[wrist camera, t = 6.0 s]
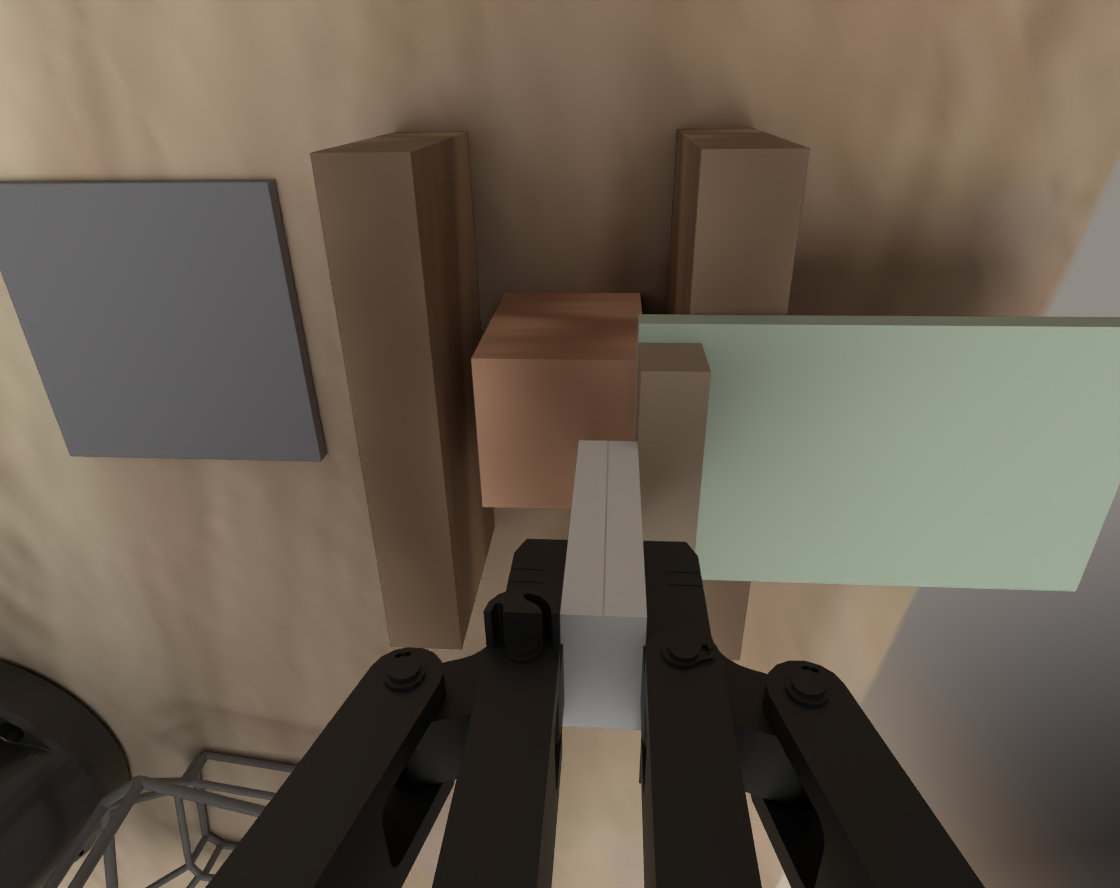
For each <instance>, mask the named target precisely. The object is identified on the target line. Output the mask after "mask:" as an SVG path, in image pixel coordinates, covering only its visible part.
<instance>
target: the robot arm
mask: <svg viewBox="0 0 1120 888" xmlns="http://www.w3.org/2000/svg"><path fill="white" fill-rule="evenodd" d="M484 622H485V633H486V645H487V646H486V647H485V648H484V649H483V650H481V651H480V652H478V653H476V654H474V655H472V656H469V657H465V658H462V659H458V660H454V661H449V662H444V663H442V661H441V660H440V659H439V658H438V657H437V656H436V655H435V653H433V652H431V651H428V650H426V649H424V648H413V647H408V648H403V649H398V650H394V651H392V652H390V653H388V654H386V655H384V656H382V657H381V658H380V659H379V660H377V661H376V662H375V663H374V664H373V665H372V666H371V667H370V669H369V670H368V671H367V673H366V674H365V675H364V677H363V678H362V679H361V681H360V682H359V683H358V685H357V686H356V687H355V689H354V690H353V691H352V693H351V694H350V695H349V697H348V698H347V699H346V701H345V702H344V703H343V705H342V706H341V707H340V709H339V710H338V711H337V713H336V714H335V715H334V717H333V718H332V719H331V721H330V722H329V723H328V725H327V726H326V727H325V729H324V730H323V731H322V733H321V734H320V735H319V737H318V738H317V739H316V741H315V742H314V743H313V745H312V746H311V747H310V749H309V750H308V751H307V753H306V754H305V755H304V757H303V758H302V759H301V761H300V762H299V763H298V765H297V766H296V767H295V769H294V770H293V771H292V773H291V774H290V775H289V777H288V778H287V779H286V781H285V782H284V783H283V785H282V786H281V787H280V789H279V790H278V791H277V793H276V794H275V795H274V797H273V798H272V799H271V801H270V802H269V803H268V805H267V806H266V807H265V809H264V810H263V811H262V813H261V814H260V815H259V817H258V818H257V819H256V821H255V822H254V823H253V825H252V826H251V827H250V829H249V830H248V831H247V833H246V834H245V835H244V837H243V838H242V840H241V841H240V842H239V844H238V845H237V846H236V848H235V849H234V850H233V852H232V853H231V854H230V856H229V857H228V858H227V860H226V861H225V862H224V864H223V865H222V866H221V868H220V869H219V870H218V872H217V873H216V874H215V876H214V877H213V878H212V880H211V881H210V882H209V884H208V885H207V886H206V888H402V886H403V884H404V882H405V880H406V878H407V876H408V874H409V872H410V870H411V868H412V866H413V864H414V862H415V860H416V858H417V856H418V854H419V852H420V850H421V848H422V846H423V844H424V842H425V840H426V838H427V836H428V834H429V833H430V831H431V829H432V827H433V825H434V823H435V821H436V819H437V817H438V815H439V813H440V811H441V809H442V807H443V805H444V803H445V801H446V799H447V797H448V795H449V793H450V791H451V789H452V787H453V785H454V781H455V779H457V780H456V784H455V789H454V793H453V797H452V802H451V806H450V811H449V815H448V819H447V824H446V828H445V833H444V837H443V841H442V846H441V850H440V855H439V859H438V863H437V868H436V872H435V877H434V881H433V885H432V888H551V886H552V873H553V861H554V848H555V836H556V823H557V811H558V799H559V786H560V774H561V761H562V724H563V726H569V727H590V728H611V729H633V730H641V755H640V775H639V783H641V787H642V820H643V853H644V886H645V888H762V886H761V880H760V875H759V869H758V863H757V857H756V852H755V846H754V840H753V834H752V829H751V823H750V817H749V812H748V806H747V800H746V794H745V792H748V793H751V798H752V801H753V804H754V806H755V808H756V810H757V812H758V815H759V817H760V819H761V821H762V824H763V826H764V828H765V830H766V832H767V835H768V837H769V839H770V841H771V844H772V846H773V848H774V850H775V852H776V855H777V857H778V859H779V861H780V864H781V866H782V868H783V870H784V872H785V875H786V877H787V879H788V881H789V883H790V886H791V888H985V887H984V886H983V884H982V883H981V881H980V880H979V878H978V877H977V876H976V874H975V873H974V871H973V870H972V868H971V867H970V865H969V864H968V862H967V861H966V859H965V858H964V857H963V855H962V854H961V852H960V851H959V850H958V848H957V847H956V845H955V844H954V842H953V841H952V839H951V838H950V836H949V835H948V833H947V832H946V831H945V829H944V828H943V826H942V825H941V823H940V822H939V820H938V819H937V818H936V816H935V815H934V813H933V812H932V810H931V809H930V807H929V806H928V804H927V803H926V802H925V800H924V799H923V798H922V796H921V794H920V793H919V791H918V790H917V789H916V787H915V786H914V784H913V783H912V781H911V780H910V778H909V777H908V776H907V774H906V773H905V771H904V770H903V768H902V767H901V766H900V764H899V762H898V761H897V760H896V758H895V757H894V756H893V754H892V753H891V751H890V749H889V748H888V747H887V745H886V744H885V742H884V741H883V739H882V738H881V736H880V735H879V733H878V732H877V731H876V730H875V728H874V726H873V725H872V723H871V722H870V720H869V719H868V718H867V716H866V715H865V713H864V712H863V710H862V709H861V707H860V706H859V704H858V703H857V702H856V700H855V699H854V697H853V696H852V694H851V693H850V691H849V690H848V689H847V687H846V686H845V684H844V683H843V682H842V681H841V680H840V679H839V678H838V677H837V676H836V675H835V674H834V673H833V672H831V671H829V670H827V669H826V668H824V667H822V666H820V665H817V664H814V663H810V662H807V661H787V662H784V663H781V664H777V665H776V666H775V667H774V668H773V669H772V670H771V671H770V672H769V673H768V674H765V673H762V672H758V671H755V670H751V669H748V668H745V667H743V666H740V665H738V664H736V663H734V662H733V661H731V660H729V659H728V658H726V657H725V656H724V655H723V654H722V653H721V652H720V651H719V650H718V647H717V645H716V644H715V643H714V642H713V639H712V636H711V630H710V624H709V618H708V612H707V606H706V600H705V594H704V589H703V582H702V576H701V570H700V564H699V558H698V555H697V554H696V553H695V552H694V551H693V549H692V548H691V547H690V546H689V545H688V543H687V542H678V541H643V532H642V514H641V495H640V477H639V458H638V443H637V441H594V440H579V444H578V453H577V462H576V471H575V481H574V490H573V499H572V508H571V518H570V527H569V536H568V540H548V539H526V540H525V541H524V542H523V544H522V545H521V546H520V547H519V548H518V549H517V550H516V551H515V552H514V557H513V561H512V566H511V571H510V575H509V580H508V584H507V589H506V592H504V593H501V594H498V595H497V596H496V597H495V598H493V599H492V600H491V601H489V602H488V604H487V606H486V608H485V610H484ZM127 781H129V772H128V767H127V764H126V761H125V758H124V756H123V754H122V752H121V750H120V748H119V746H118V745H117V743H116V741H115V740H114V738H113V737H112V736H111V734H110V733H109V732H108V730H107V729H106V728H105V727H104V726H103V725H102V723H101V722H100V721H99V720H98V719H97V718H96V717H95V716H94V715H93V714H92V713H91V712H89V711H88V710H87V709H86V708H85V707H84V706H83V705H81V704H80V703H79V702H78V701H76V700H75V699H74V698H72V697H71V696H69V695H68V694H67V693H65V692H64V691H62V690H61V689H59V688H57V687H56V686H54V685H52V684H51V683H49V682H47V681H45V680H43V679H42V678H40V677H38V676H36V675H34V674H32V673H30V672H27V671H25V670H23V669H20V668H18V667H16V666H13V665H10V664H8V663H5V662H2V661H0V888H43V886H44V885H45V883H46V882H47V880H48V879H49V877H50V876H51V874H52V873H53V871H54V870H55V869H56V867H57V866H58V864H59V863H60V861H61V860H62V858H63V857H64V855H65V854H66V852H67V851H68V849H69V848H70V846H71V845H72V843H73V842H74V840H75V839H76V837H77V836H78V834H79V833H80V831H81V830H82V828H83V826H84V825H85V823H86V822H87V820H88V819H89V817H90V816H91V814H92V813H93V811H94V810H95V808H96V807H97V805H98V803H99V802H100V801H101V799H102V798H104V797H105V796H106V795H108V794H109V793H111V792H112V791H114V790H115V789H117V788H118V787H120V786H121V785H123V784H124V783H126V782H127ZM124 797H125V796H124ZM124 797H123V798H121V799H124ZM116 810H117V808H116V809H112V814H113V815H114V813H115V811H116ZM101 834H102V833H101V822H100V823H99V824H98V826H97V827H96V829H95V830H94V832H93V833H92V835H91V836H90V838H89V840H88V841H87V843H86V844H85V846H84V847H83V849H82V850H81V852H80V854H79V855H78V857H77V858H76V860H75V861H77V860H78V859H80V858H81V857H82V856H83V855H85V854H86V853H87V852H88V851H90V850H91V849H92V848H93V846H94V845H95V843H96V842H97V840H98V838H99V837H100V835H101ZM75 861H74V862H75Z"/></svg>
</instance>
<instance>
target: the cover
mask: <svg viewBox="0 0 1120 888" xmlns="http://www.w3.org/2000/svg"><path fill="white" fill-rule="evenodd" d="M634 441H637V443H638V458H639V477H640V495H641V514H642V532H643V541H678V542H687V543H688V545H689V546H690V547H691V548H692V549H693V551H694V552H695V553H696V554H697V555H698V558H699V564H700V570H701V576H702V580H728V581H760V582H793V583H825V584H857V585H889V586H921V587H924V586H925V587H954V588H986V589H1017V590H1018V589H1020V590H1050V591H1076V590H1077V587H1078V585H1079V582H1080V580H1081V577H1082V575H1083V573H1084V570H1085V568H1086V565H1087V563H1088V560H1089V558H1090V555H1091V553H1092V550H1093V548H1094V545H1095V543H1096V540H1097V538H1098V535H1099V533H1100V530H1101V528H1102V525H1103V523H1104V520H1105V518H1106V516H1107V513H1108V511H1109V508H1110V506H1111V503H1112V501H1113V498H1114V496H1115V493H1116V491H1117V489H1118V486H1119V484H1120V317H990V316H828V315H665V314H638V335H637V361H636V388H635V415H634Z"/></svg>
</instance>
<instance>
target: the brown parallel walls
mask: <svg viewBox="0 0 1120 888" xmlns="http://www.w3.org/2000/svg"><path fill="white" fill-rule="evenodd" d="M809 149H810V148H807V147H804V146H802V145H799V144H796V143H793V142H790V141H788V140H785V139H782V138H779V137H776V136H774V135H771V134H768V133H765V132H762V131H759V130H757V129H754V128H747V129H677V134H676V152H675V169H674V187H673V205H672V223H671V241H670V258H669V276H668V294H667V312H666V315H787V310H788V303H789V296H790V289H791V281H792V274H793V267H794V259H795V252H796V245H797V237H798V230H799V223H800V215H801V208H802V201H803V193H804V186H805V179H806V171H807V164H808V157H809ZM310 156H311V162H312V168H313V174H314V180H315V186H316V192H317V198H318V204H319V211H320V217H321V223H322V229H323V235H324V241H325V247H326V253H327V259H328V265H329V272H330V278H331V284H332V290H333V296H334V302H335V308H336V314H337V320H338V326H339V333H340V339H341V345H342V351H343V357H344V363H345V369H346V375H347V381H348V387H349V394H350V400H351V406H352V412H353V418H354V424H355V430H356V436H357V442H358V448H359V455H360V461H361V467H362V473H363V479H364V485H365V491H366V497H367V503H368V509H369V516H370V522H371V528H372V534H373V540H374V546H375V552H376V558H377V564H378V570H379V577H380V583H381V589H382V595H383V601H384V607H385V613H386V619H387V625H388V631H389V638H390V644H391V647H413V648H436V649H462V647H463V643H464V639H465V636H466V632H467V628H468V624H469V621H470V617H471V613H472V609H473V606H474V602H475V598H476V594H477V591H478V587H479V583H480V579H481V576H482V572H483V568H484V564H485V561H486V557H487V553H488V550H489V546H490V542H491V538H492V535H493V531H494V515H493V507H483V506H482V493H481V480H480V467H479V454H478V441H477V428H476V415H475V402H474V389H473V376H472V363H471V358H472V356H473V354H474V352H475V350H476V348H477V346H478V344H479V342H480V340H481V325H480V310H479V296H478V281H477V267H476V252H475V237H474V223H473V208H472V193H471V179H470V164H469V150H468V135H467V132H394V133H390V134H386V135H382V136H378V137H374V138H370V139H366V140H362V141H358V142H353V143H349V144H345V145H341V146H337V147H333V148H329V149H325V150H321V151H316V152H312V153H310ZM702 582H703V589H704V594H705V600H706V606H707V612H708V618H709V624H710V630H711V636H712V639H713V642H714V643H715V644H716V645H717V647H718V650H719V651H720V652H721V653H722V654H723V655H724V656H725V657H726V658H728V659H729V660H740V654H741V647H742V640H743V632H744V625H745V618H746V610H747V603H748V596H749V588H750V581H728V580H702Z"/></svg>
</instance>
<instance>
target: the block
mask: <svg viewBox="0 0 1120 888" xmlns="http://www.w3.org/2000/svg"><path fill="white" fill-rule="evenodd" d="M638 314H642V306H641V297H640V293H519V292H505V294H504V296H503V297H502V299H501V301H500V303H499V305H498V307H497V309H496V311H495V313H494V315H493V317H492V319H491V321H490V323H489V325H488V327H487V329H486V331H485V333H484V335H483V336H482V338H481V340H480V342H479V344H478V346H477V348H476V350H475V352H474V354H473V356H472V358H471V363H472V376H473V389H474V402H475V415H476V428H477V441H478V454H479V467H480V480H481V493H482V506H483V507H498V508H537V509H571V508H572V499H573V490H574V481H575V471H576V462H577V453H578V444H579V440H594V441H634V415H635V388H636V361H637V335H638Z"/></svg>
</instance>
